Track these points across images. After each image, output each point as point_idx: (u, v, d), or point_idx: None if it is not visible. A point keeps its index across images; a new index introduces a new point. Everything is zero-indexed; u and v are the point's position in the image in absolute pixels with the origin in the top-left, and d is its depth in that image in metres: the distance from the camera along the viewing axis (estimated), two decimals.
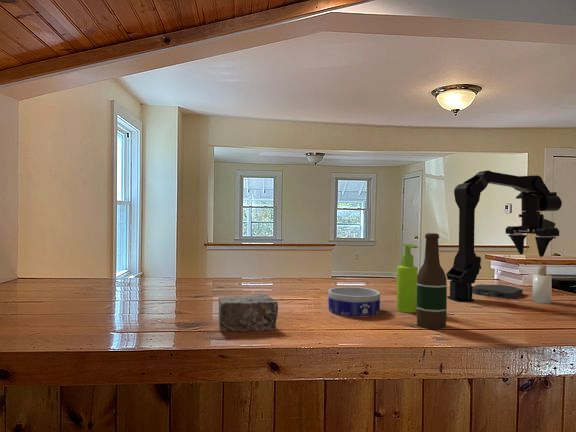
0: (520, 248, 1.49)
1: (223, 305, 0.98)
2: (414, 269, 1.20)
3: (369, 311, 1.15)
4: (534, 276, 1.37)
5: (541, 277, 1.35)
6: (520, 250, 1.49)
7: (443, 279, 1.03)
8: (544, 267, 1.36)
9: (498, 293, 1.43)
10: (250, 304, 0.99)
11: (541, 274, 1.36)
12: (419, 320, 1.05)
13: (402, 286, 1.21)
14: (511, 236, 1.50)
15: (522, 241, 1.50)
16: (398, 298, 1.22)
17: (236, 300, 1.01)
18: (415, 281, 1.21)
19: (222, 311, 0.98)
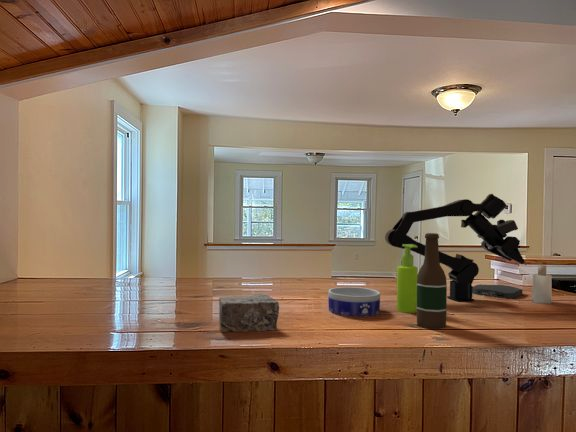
0: (506, 256, 1.42)
1: (224, 305, 0.98)
2: (414, 269, 1.20)
3: (369, 311, 1.15)
4: (534, 276, 1.37)
5: (541, 277, 1.35)
6: (507, 258, 1.42)
7: (443, 279, 1.03)
8: (544, 267, 1.36)
9: (498, 293, 1.43)
10: (251, 304, 0.99)
11: (541, 274, 1.36)
12: (419, 320, 1.05)
13: (402, 286, 1.21)
14: (490, 251, 1.44)
15: None
16: (398, 298, 1.22)
17: (237, 300, 1.01)
18: (415, 281, 1.21)
19: (223, 311, 0.98)
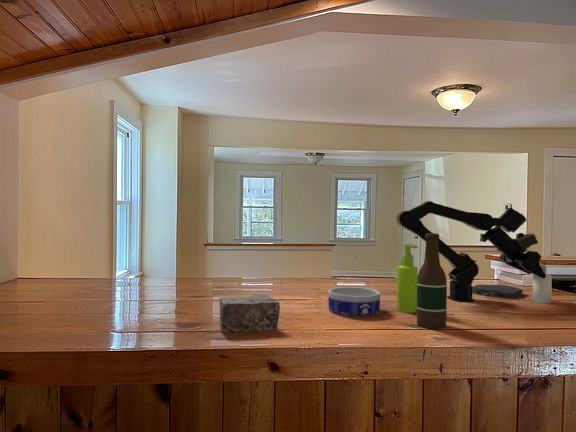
0: (525, 269, 1.42)
1: (225, 306, 0.97)
2: (414, 269, 1.20)
3: (369, 311, 1.15)
4: (534, 276, 1.37)
5: None
6: (527, 271, 1.41)
7: (443, 279, 1.03)
8: (544, 267, 1.36)
9: (498, 293, 1.43)
10: (252, 304, 0.99)
11: None
12: (419, 320, 1.05)
13: (402, 286, 1.21)
14: (509, 265, 1.44)
15: None
16: (398, 298, 1.22)
17: (238, 300, 1.01)
18: (415, 281, 1.21)
19: (224, 312, 0.97)
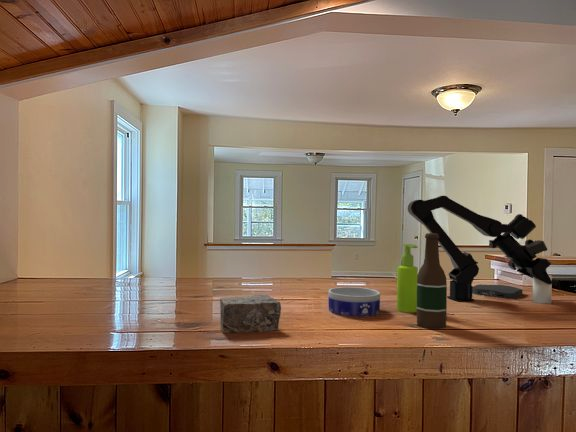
0: None
1: (226, 306, 0.97)
2: (414, 269, 1.20)
3: (369, 311, 1.15)
4: None
5: None
6: None
7: (443, 279, 1.03)
8: None
9: (498, 293, 1.43)
10: (253, 305, 0.99)
11: None
12: (419, 320, 1.05)
13: (402, 286, 1.21)
14: None
15: None
16: (398, 298, 1.22)
17: (239, 301, 1.00)
18: (415, 281, 1.21)
19: (225, 312, 0.97)
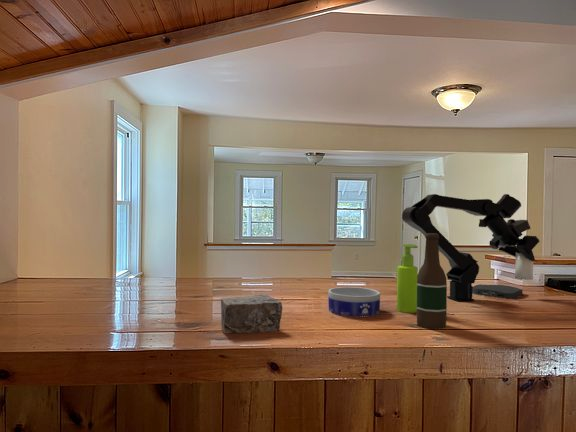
0: None
1: (228, 307, 0.96)
2: (414, 269, 1.20)
3: (369, 311, 1.15)
4: (518, 254, 1.42)
5: None
6: None
7: (443, 279, 1.03)
8: None
9: (498, 293, 1.43)
10: (255, 305, 0.98)
11: None
12: (419, 320, 1.05)
13: (402, 286, 1.21)
14: (502, 251, 1.47)
15: (514, 247, 1.46)
16: (398, 298, 1.22)
17: (240, 301, 1.00)
18: (415, 281, 1.21)
19: (227, 313, 0.96)
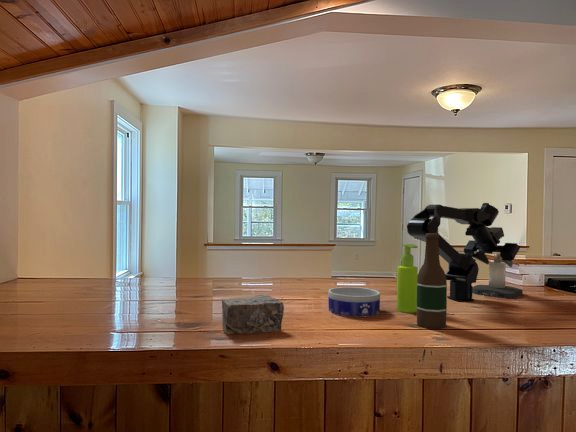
0: (485, 260, 1.54)
1: (230, 307, 0.96)
2: (414, 269, 1.20)
3: (369, 311, 1.15)
4: (494, 264, 1.49)
5: (501, 264, 1.48)
6: (486, 262, 1.54)
7: (443, 279, 1.03)
8: None
9: (498, 293, 1.43)
10: (257, 305, 0.98)
11: (498, 261, 1.49)
12: (419, 320, 1.05)
13: (402, 286, 1.21)
14: (474, 257, 1.53)
15: (483, 253, 1.54)
16: (398, 298, 1.22)
17: (241, 302, 0.99)
18: (415, 281, 1.21)
19: (229, 313, 0.96)
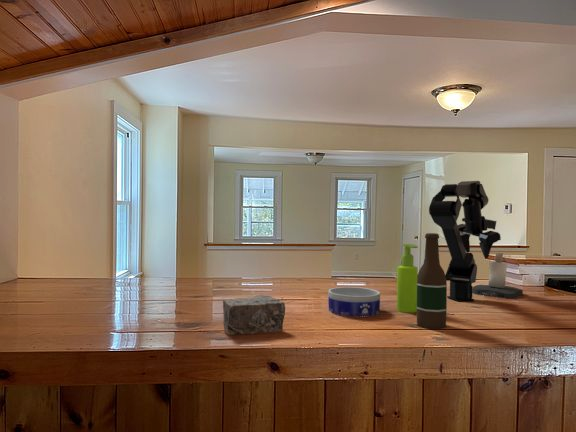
0: (466, 247, 1.55)
1: (232, 308, 0.95)
2: (414, 269, 1.20)
3: (369, 311, 1.15)
4: (494, 263, 1.49)
5: (501, 264, 1.48)
6: (467, 249, 1.55)
7: (443, 279, 1.03)
8: (502, 255, 1.49)
9: (498, 293, 1.43)
10: (259, 306, 0.98)
11: (499, 261, 1.49)
12: (419, 320, 1.05)
13: (402, 286, 1.21)
14: None
15: (468, 240, 1.55)
16: (398, 298, 1.22)
17: (243, 302, 0.99)
18: (415, 281, 1.21)
19: (231, 314, 0.95)
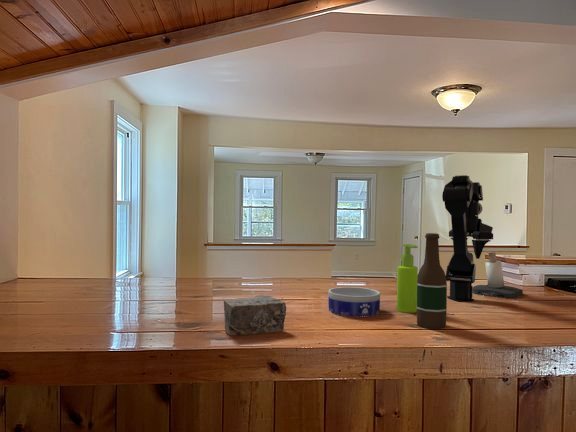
0: None
1: (234, 308, 0.95)
2: (414, 269, 1.20)
3: (369, 311, 1.15)
4: (488, 264, 1.49)
5: (494, 264, 1.47)
6: None
7: (443, 279, 1.03)
8: (494, 254, 1.49)
9: (498, 293, 1.43)
10: (260, 306, 0.97)
11: (493, 261, 1.49)
12: (419, 320, 1.05)
13: (402, 286, 1.21)
14: (453, 239, 1.59)
15: None
16: (398, 298, 1.22)
17: (244, 302, 0.99)
18: (415, 281, 1.21)
19: (233, 314, 0.95)
